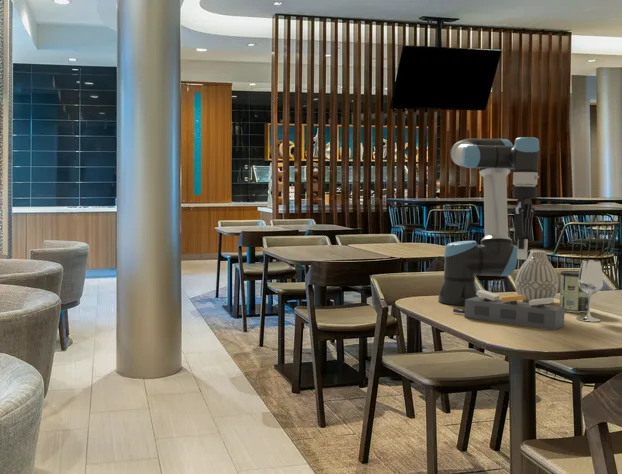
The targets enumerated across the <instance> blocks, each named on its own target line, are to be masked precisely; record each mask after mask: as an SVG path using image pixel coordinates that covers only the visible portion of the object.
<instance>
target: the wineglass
mask: <svg viewBox="0 0 622 474" xmlns="http://www.w3.org/2000/svg"><path fill="white" fill-rule="evenodd" d="M581 261H582V262H581V264H580V268H579V270H578V271H579V276H578V286H579V288H580V289H581V290H582V291H583V292H584V293H586V294H587V295H588V312H587V313H586V315H584V316H578V317H576V318H575V319H576V320H577V319H578V321H580V320H582V321H581V322H586V321H590V322H589V323H598V321H599V322H601V319H599V318H597V317H593V316H592V315H591V299H592V296H593V295H595V294H597V293H599V291H601V289H602V288H603V284H604V276H603V270H602V263H601V261H600V260H595V259H583V260H581Z"/></svg>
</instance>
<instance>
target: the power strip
mask: <svg viewBox="0 0 622 474" xmlns="http://www.w3.org/2000/svg"><path fill="white" fill-rule="evenodd" d="M452 312H453V313H457V314H459V313H460V314H462V315H463V314H464V318H466V319H473V320H479V321H480V320H481V321H488V322H495V323H500V324H501V323H502V324H508V325H515V326H523V327H531V328H537V329H538V328H539V329H545V330H553V331H556V330H558V329H560V328H562V327H563V328H564V326H565V313H566V312H565V307H560V305H559V306H557V305H549V304H538V305H529V303H526V302H524V301H507V302H502V299H500V298H499V300H495V301H492V300H489V299H487V298H484V297H481V296H479V297H473V298H469V299H466V300H465V305H464V309H459V308H453V309H452Z"/></svg>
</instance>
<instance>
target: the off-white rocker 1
mask: <svg viewBox="0 0 622 474" xmlns="http://www.w3.org/2000/svg"><path fill="white" fill-rule="evenodd" d="M476 295H478V296H479V297H484V298H487V299H489V300H492V301H495V300H499V299H500V296H501V295H500V294H497V293H494V292H491V291H488V290H485V289H479V290H478V289H477V293H476Z"/></svg>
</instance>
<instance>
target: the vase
mask: <svg viewBox="0 0 622 474" xmlns="http://www.w3.org/2000/svg"><path fill="white" fill-rule="evenodd" d="M514 286H515V290H516V295H524V294H525V295H526V299H523V300H522V302H525V303H526V302H527V303H529V301H530V300H533V299H543V298H553V299H554V298H555V297H556V295H557V293H558V290H559V277H558V274H557V272H556V270H555V268H554V266H553V265H552V263H551V262H550V261H549V258H548V255H547V252H546V251H545V250H538V249H537V250H533V249H531V250H530V252H529V254H528V256H527V259H526V260H525V261H524V262H523V263H522V265H521V266H520V268H519V269H518V271H517V273H516V276H515V281H514Z"/></svg>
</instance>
